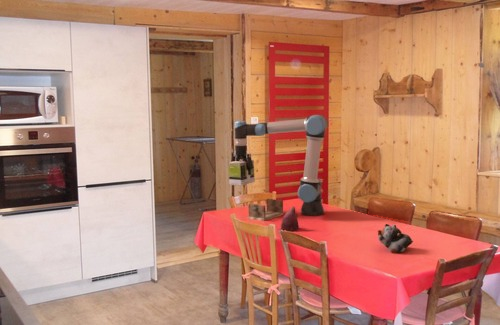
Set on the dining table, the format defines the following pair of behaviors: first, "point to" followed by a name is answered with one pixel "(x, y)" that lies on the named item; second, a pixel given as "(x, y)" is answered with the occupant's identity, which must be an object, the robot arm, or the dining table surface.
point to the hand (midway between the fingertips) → (241, 179)
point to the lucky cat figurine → (394, 238)
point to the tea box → (240, 173)
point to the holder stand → (272, 210)
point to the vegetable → (290, 221)
